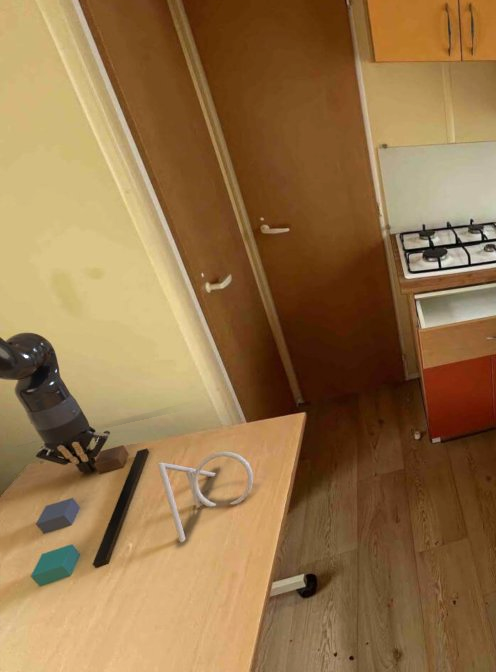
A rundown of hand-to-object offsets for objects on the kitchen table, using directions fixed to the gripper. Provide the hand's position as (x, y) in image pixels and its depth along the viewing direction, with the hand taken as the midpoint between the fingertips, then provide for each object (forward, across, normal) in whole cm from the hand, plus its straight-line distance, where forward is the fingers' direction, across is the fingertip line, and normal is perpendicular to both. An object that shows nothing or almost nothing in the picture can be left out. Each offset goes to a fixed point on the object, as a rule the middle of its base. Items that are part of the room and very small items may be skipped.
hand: (90, 470), depth 101 cm
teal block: (+1, -3, +27) cm, 27 cm away
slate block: (+1, +1, +14) cm, 14 cm away
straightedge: (+1, -10, +14) cm, 18 cm away
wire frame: (+1, -29, +23) cm, 37 cm away
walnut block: (+1, -5, 0) cm, 5 cm away
